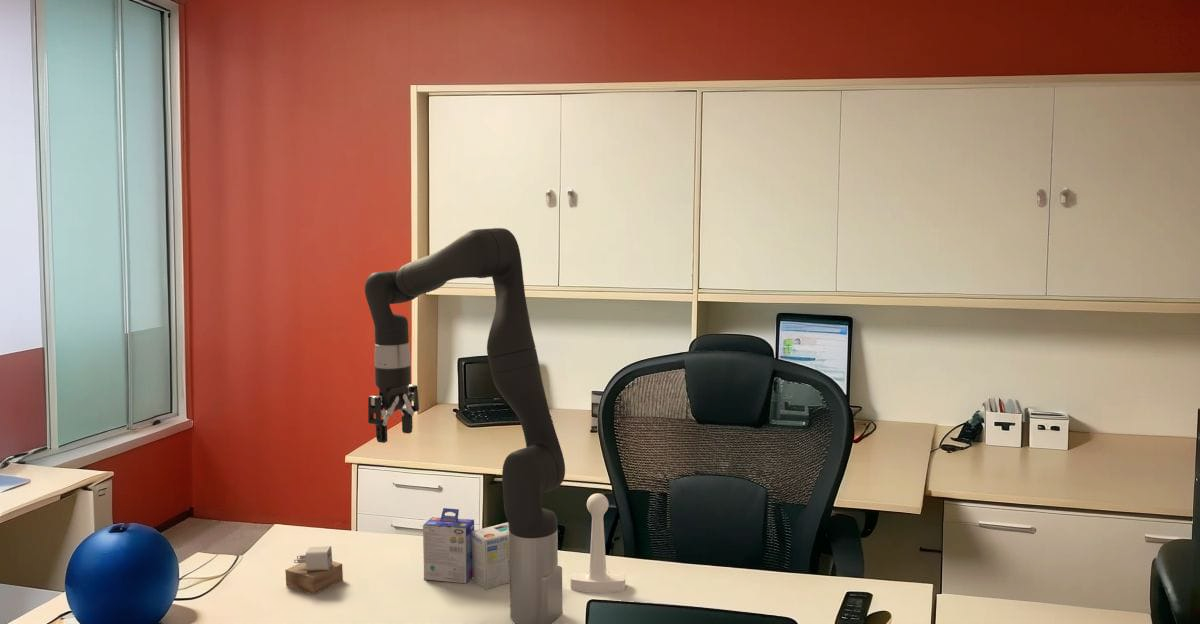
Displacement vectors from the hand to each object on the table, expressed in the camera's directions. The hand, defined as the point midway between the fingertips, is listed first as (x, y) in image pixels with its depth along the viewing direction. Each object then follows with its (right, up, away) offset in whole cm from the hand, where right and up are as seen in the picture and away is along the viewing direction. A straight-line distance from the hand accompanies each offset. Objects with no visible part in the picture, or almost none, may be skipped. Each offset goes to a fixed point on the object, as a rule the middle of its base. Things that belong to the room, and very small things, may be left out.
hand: (395, 437), depth 199 cm
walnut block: (-15, -30, -7) cm, 34 cm away
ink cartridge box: (+13, -29, -5) cm, 32 cm away
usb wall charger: (-15, -26, -8) cm, 31 cm away
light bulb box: (+23, -29, -5) cm, 38 cm away
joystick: (+44, -30, -8) cm, 54 cm away
